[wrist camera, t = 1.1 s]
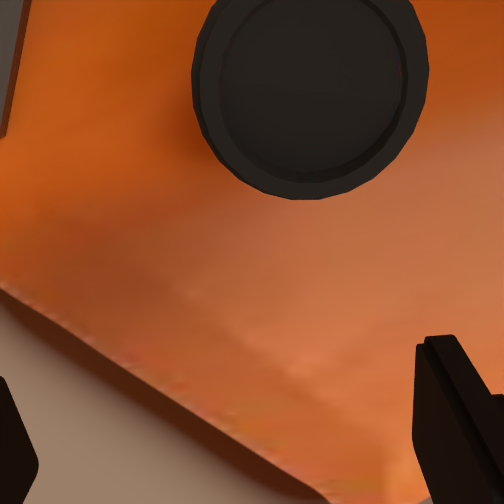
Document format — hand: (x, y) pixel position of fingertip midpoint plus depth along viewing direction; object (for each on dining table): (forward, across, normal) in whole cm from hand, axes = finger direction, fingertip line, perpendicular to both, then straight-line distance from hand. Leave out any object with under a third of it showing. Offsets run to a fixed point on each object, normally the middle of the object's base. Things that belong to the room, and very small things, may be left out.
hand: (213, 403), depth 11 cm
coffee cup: (+23, -3, -5) cm, 24 cm away
